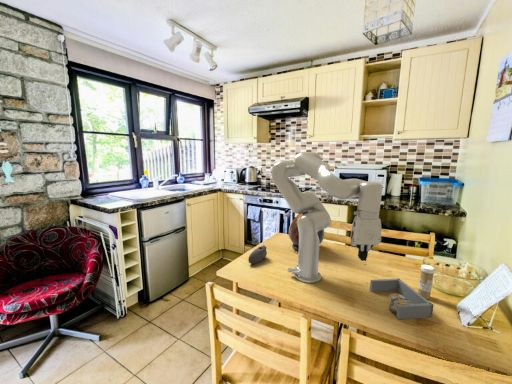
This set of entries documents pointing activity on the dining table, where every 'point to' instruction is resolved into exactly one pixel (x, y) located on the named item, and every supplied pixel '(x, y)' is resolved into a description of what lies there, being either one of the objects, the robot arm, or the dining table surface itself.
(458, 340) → the dining table surface
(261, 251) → the perforated stone tool
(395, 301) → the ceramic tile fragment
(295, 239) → the amphora vase
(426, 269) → the sprinkles bottle
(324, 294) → the dining table surface
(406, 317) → the box
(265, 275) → the dining table surface
